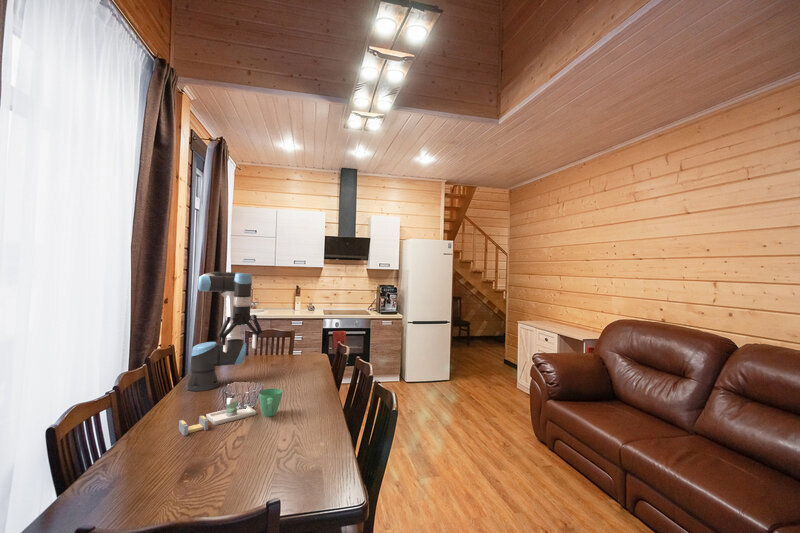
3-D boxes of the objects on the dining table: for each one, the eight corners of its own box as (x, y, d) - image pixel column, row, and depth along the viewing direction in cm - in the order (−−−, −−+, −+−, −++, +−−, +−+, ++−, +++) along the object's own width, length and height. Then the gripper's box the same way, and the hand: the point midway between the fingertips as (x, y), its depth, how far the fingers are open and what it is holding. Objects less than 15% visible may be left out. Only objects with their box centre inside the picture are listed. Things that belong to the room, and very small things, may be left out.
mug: (258, 411, 162) (259, 389, 162) (281, 409, 165) (281, 387, 165) (256, 424, 148) (257, 400, 148) (281, 422, 151) (282, 398, 151)
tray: (206, 418, 153) (206, 414, 153) (246, 408, 165) (246, 404, 165) (214, 425, 146) (214, 421, 146) (255, 414, 158) (255, 411, 158)
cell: (224, 414, 155) (225, 395, 156) (234, 412, 159) (235, 393, 159) (228, 417, 152) (229, 398, 153) (238, 415, 156) (239, 396, 156)
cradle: (178, 429, 141) (179, 419, 141) (202, 424, 147) (202, 414, 147) (184, 435, 136) (184, 425, 136) (208, 429, 142) (208, 419, 142)
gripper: (217, 307, 160) (214, 355, 160) (270, 305, 178) (268, 348, 178) (211, 305, 166) (209, 351, 165) (263, 303, 183) (261, 345, 183)
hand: (239, 350), depth 172 cm, fingers open, 13 cm apart
